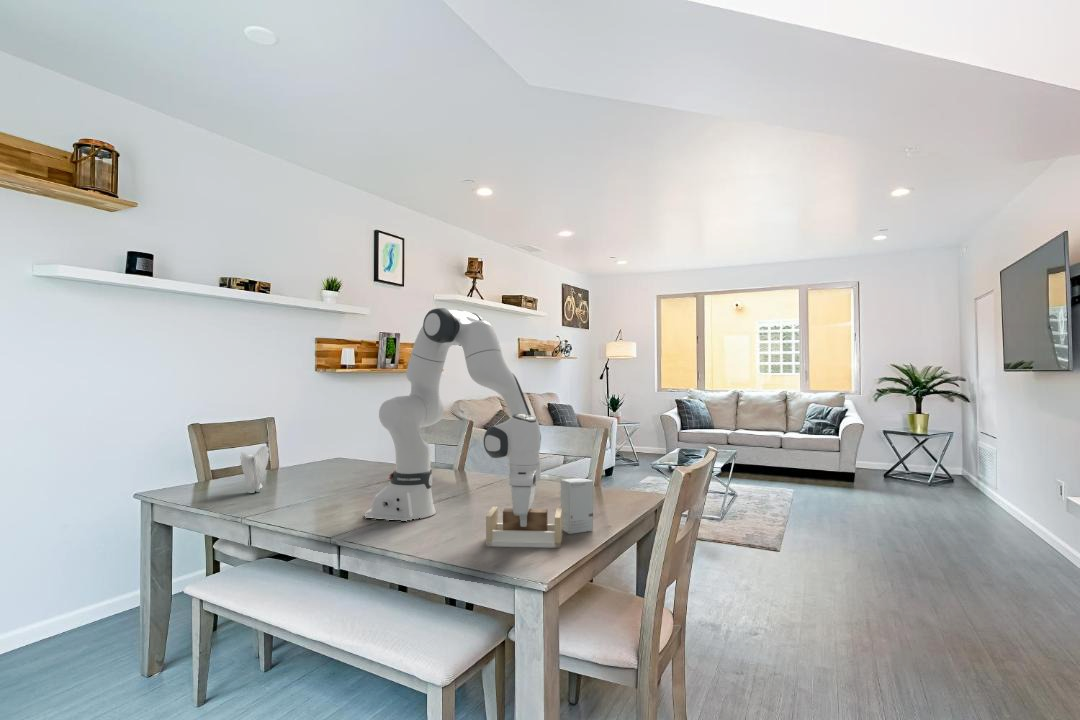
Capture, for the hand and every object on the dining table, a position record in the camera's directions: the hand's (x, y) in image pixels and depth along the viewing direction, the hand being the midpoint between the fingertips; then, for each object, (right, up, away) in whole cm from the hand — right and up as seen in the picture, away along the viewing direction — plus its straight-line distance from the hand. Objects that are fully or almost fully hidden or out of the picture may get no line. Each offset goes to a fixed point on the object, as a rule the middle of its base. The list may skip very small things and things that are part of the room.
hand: (524, 523), depth 151 cm
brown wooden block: (0, -2, 0) cm, 2 cm away
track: (0, -5, 0) cm, 5 cm away
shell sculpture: (-107, -7, +61) cm, 123 cm away
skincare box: (+15, -5, +10) cm, 19 cm away
